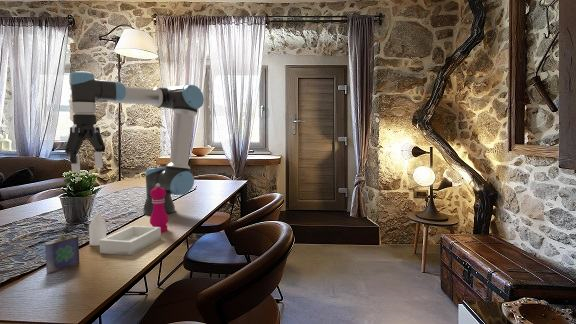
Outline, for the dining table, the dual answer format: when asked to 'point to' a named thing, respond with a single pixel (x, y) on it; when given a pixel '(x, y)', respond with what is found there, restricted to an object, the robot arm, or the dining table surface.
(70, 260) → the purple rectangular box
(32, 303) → the dining table surface
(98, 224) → the white pointed block
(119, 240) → the tray
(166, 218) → the pepper mill
